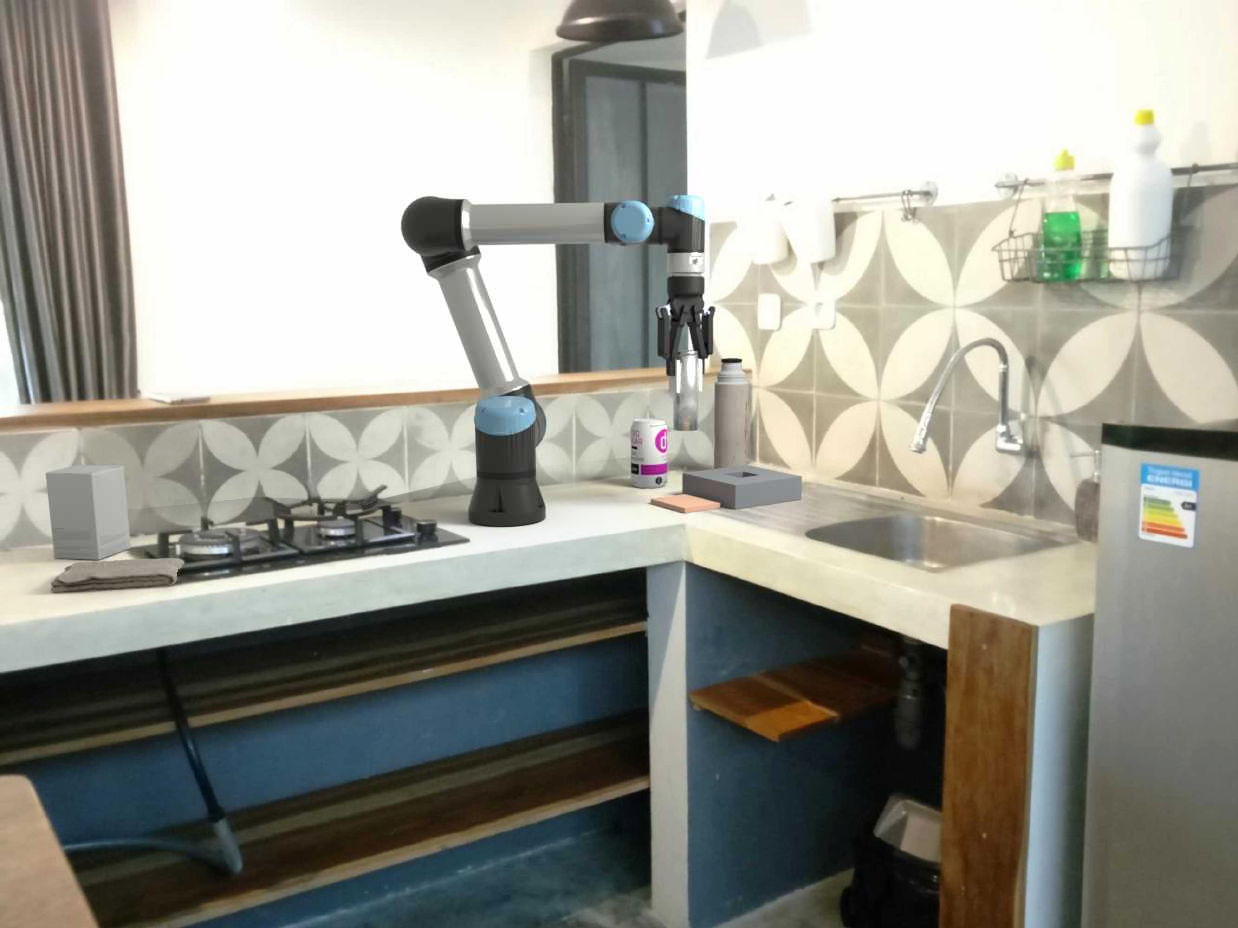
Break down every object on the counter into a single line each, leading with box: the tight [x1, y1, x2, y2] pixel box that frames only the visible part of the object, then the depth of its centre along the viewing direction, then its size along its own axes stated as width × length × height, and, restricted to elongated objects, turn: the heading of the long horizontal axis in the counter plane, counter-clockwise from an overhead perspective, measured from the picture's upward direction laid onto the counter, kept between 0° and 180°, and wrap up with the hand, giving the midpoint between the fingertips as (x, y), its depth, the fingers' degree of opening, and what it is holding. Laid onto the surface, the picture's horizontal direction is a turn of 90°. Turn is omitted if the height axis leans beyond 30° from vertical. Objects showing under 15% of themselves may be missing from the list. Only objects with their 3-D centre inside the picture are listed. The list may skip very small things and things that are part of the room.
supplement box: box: [45, 464, 132, 561], centre depth 187 cm, size 9×9×15 cm
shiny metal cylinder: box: [672, 349, 699, 432], centre depth 221 cm, size 5×5×16 cm
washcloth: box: [50, 557, 185, 594], centre depth 171 cm, size 12×18×3 cm, turn 103°
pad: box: [650, 494, 721, 514], centre depth 225 cm, size 9×12×1 cm
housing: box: [681, 464, 803, 510], centre depth 233 cm, size 18×18×5 cm
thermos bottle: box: [713, 357, 750, 469], centre depth 257 cm, size 8×8×28 cm
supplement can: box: [630, 417, 668, 489], centre depth 247 cm, size 8×8×15 cm
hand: (685, 391), depth 221 cm, fingers closed on shiny metal cylinder, 5 cm apart
